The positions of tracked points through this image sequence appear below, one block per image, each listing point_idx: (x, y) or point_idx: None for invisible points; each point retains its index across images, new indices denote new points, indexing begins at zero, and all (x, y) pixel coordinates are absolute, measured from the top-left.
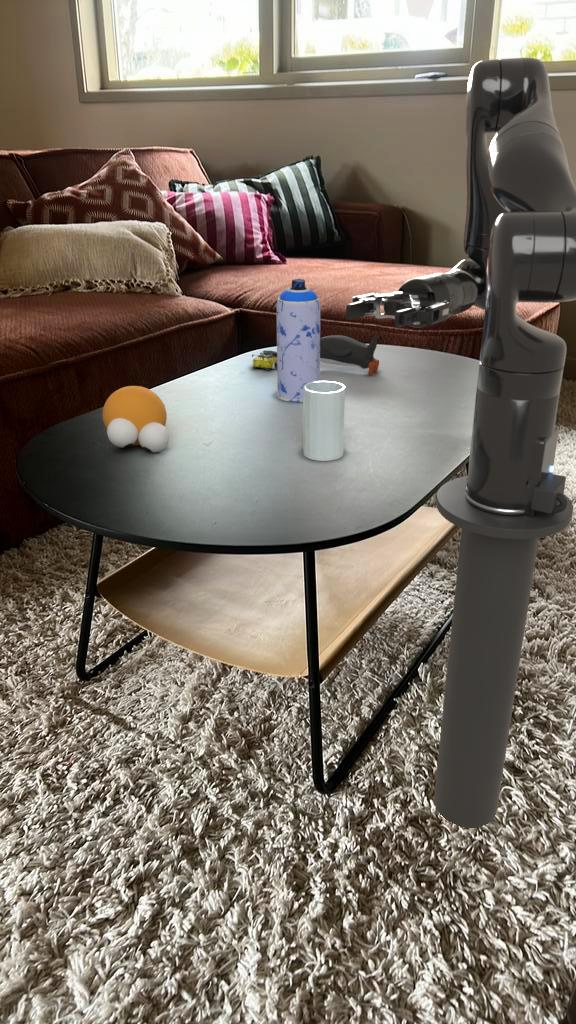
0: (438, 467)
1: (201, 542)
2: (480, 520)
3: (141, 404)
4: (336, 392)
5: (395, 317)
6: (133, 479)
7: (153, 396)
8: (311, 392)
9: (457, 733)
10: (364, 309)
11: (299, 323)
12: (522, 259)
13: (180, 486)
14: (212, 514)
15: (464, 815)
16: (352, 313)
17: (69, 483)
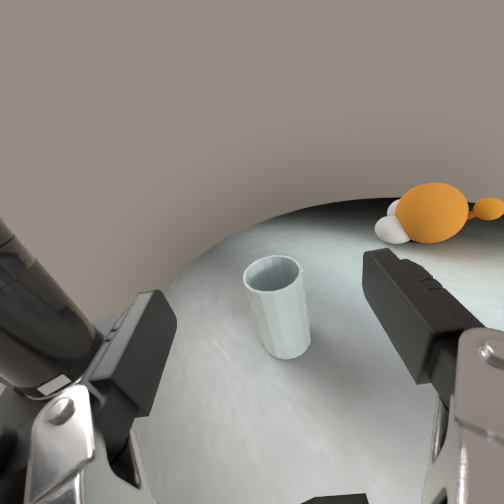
0: None
1: (242, 230)
2: (96, 322)
3: (404, 198)
4: (244, 273)
5: (163, 299)
6: (340, 225)
7: (419, 201)
8: (268, 256)
9: None
10: (419, 360)
11: None
12: None
13: (309, 238)
14: (261, 239)
15: None
16: (368, 284)
17: (357, 207)
